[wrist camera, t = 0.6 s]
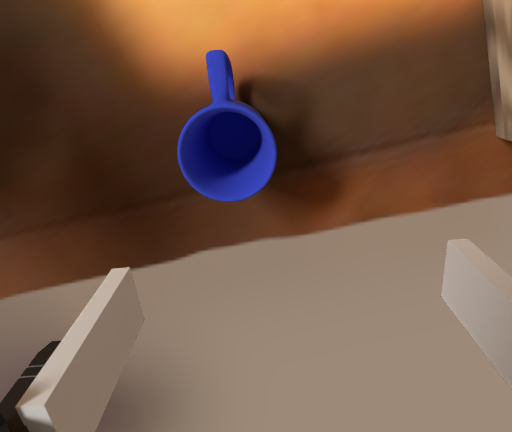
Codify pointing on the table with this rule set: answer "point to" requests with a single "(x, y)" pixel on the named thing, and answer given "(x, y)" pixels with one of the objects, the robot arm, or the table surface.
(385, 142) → the table surface
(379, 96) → the table surface
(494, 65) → the cabinet
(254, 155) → the mug
